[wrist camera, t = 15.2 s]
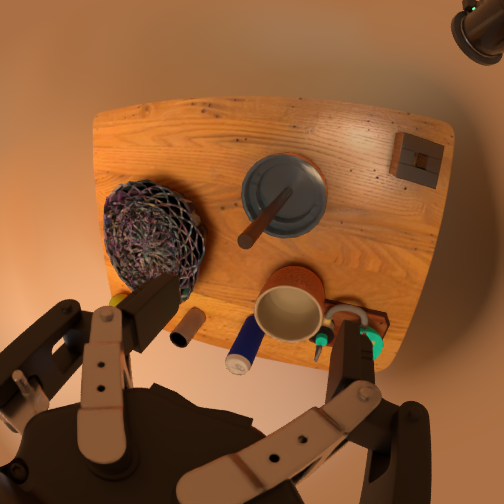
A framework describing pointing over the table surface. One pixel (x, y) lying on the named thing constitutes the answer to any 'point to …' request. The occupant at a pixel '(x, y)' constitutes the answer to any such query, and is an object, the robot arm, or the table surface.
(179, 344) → the cardboard tube
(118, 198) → the decorative bowl
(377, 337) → the contraption on wooden base
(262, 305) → the planter
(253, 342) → the beverage can
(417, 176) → the holder
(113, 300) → the yellow oval fruit
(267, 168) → the bowl
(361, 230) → the table surface
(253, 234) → the stirring stick
